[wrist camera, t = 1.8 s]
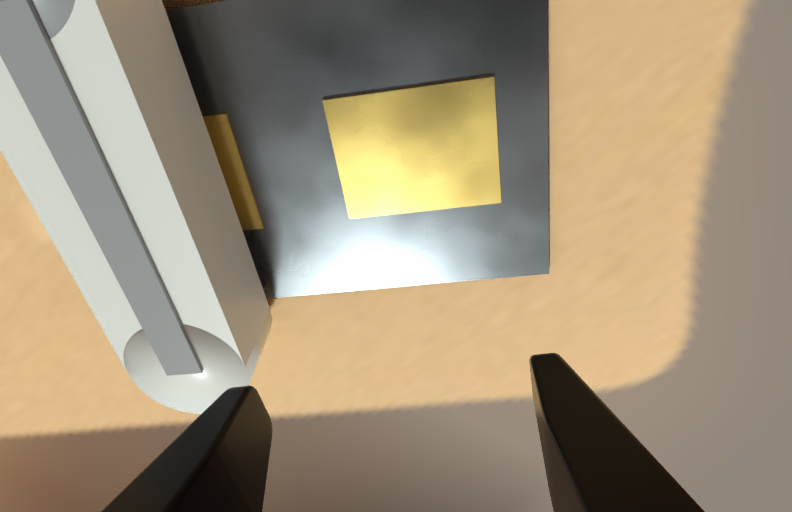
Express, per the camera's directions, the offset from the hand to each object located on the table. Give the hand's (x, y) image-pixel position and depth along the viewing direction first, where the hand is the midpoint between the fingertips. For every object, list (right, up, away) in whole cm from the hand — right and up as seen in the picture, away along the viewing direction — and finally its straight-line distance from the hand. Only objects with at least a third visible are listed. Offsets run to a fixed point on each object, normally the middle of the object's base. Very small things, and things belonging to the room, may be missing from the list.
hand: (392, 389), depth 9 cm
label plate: (-4, +7, +8) cm, 11 cm away
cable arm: (-7, +5, +8) cm, 12 cm away
